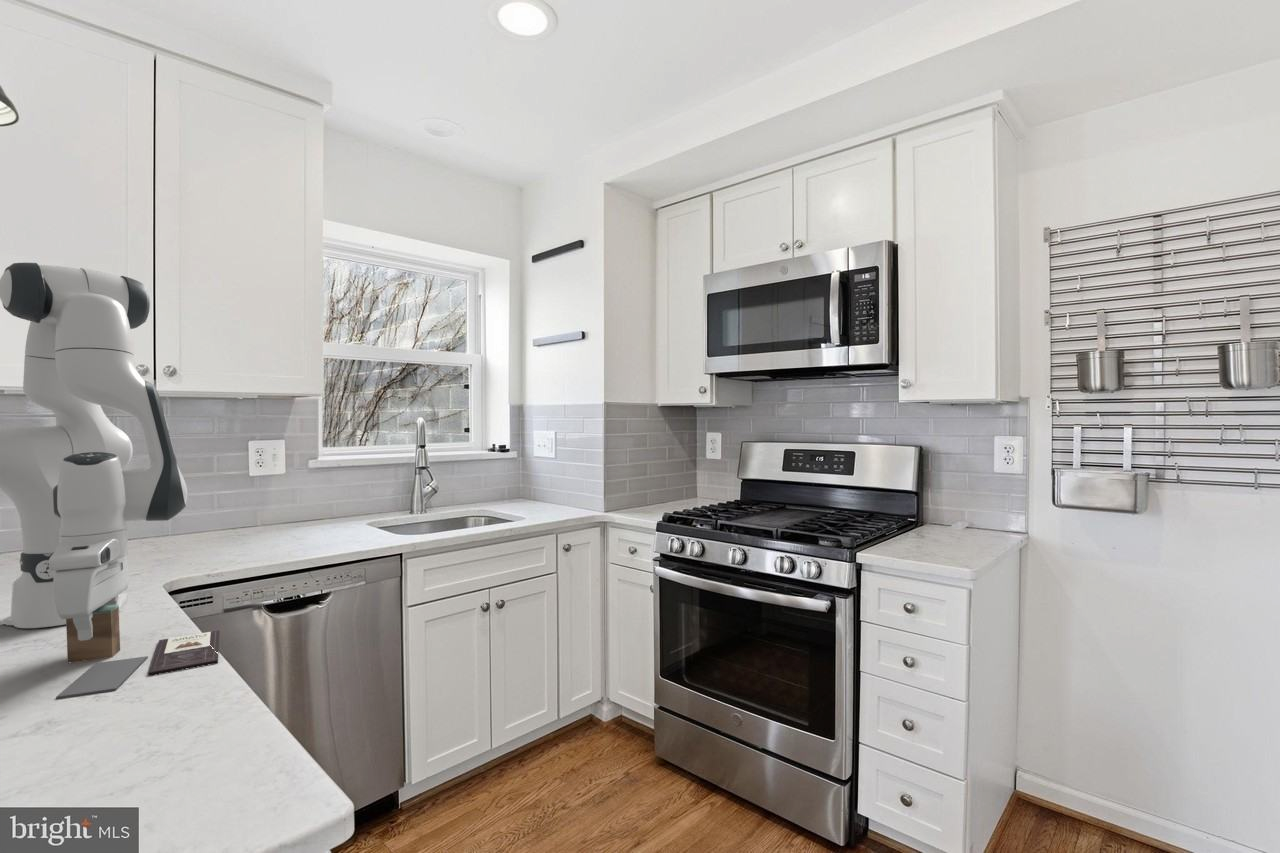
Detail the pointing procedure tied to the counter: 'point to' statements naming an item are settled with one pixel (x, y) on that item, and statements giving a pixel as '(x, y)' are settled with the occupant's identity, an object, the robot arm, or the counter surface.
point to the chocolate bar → (185, 652)
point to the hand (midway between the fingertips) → (97, 630)
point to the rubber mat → (103, 677)
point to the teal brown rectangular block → (95, 636)
